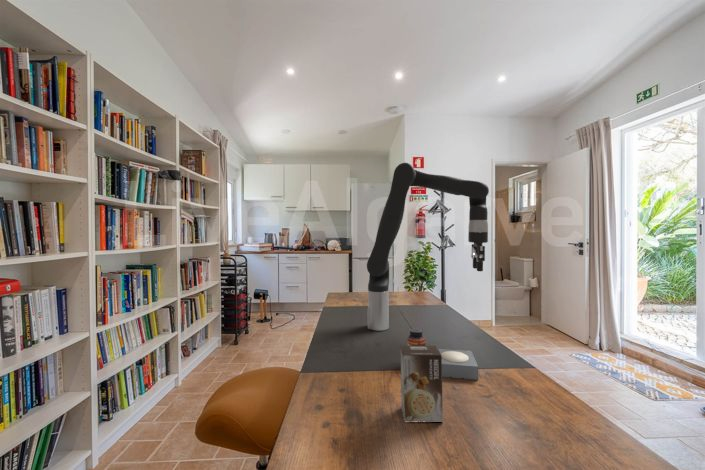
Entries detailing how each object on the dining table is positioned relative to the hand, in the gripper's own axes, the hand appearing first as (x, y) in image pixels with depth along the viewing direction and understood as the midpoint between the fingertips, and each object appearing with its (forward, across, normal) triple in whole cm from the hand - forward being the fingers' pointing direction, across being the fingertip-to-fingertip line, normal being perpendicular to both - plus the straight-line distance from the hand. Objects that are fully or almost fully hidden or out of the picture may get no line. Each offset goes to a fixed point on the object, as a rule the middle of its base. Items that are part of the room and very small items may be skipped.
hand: (477, 269), depth 129 cm
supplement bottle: (+28, +32, -25) cm, 50 cm away
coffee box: (+28, +61, -25) cm, 72 cm away
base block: (+28, +34, -13) cm, 46 cm away
